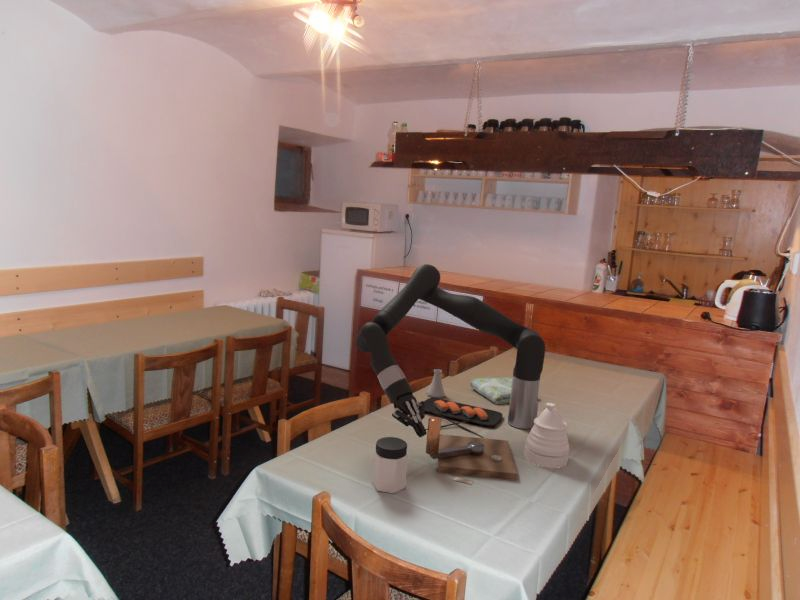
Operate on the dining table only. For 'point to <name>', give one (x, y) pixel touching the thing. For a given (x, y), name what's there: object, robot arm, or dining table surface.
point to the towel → (494, 388)
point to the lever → (436, 453)
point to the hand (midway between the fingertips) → (423, 435)
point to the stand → (478, 459)
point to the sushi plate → (462, 413)
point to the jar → (390, 465)
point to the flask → (436, 385)
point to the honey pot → (548, 440)
